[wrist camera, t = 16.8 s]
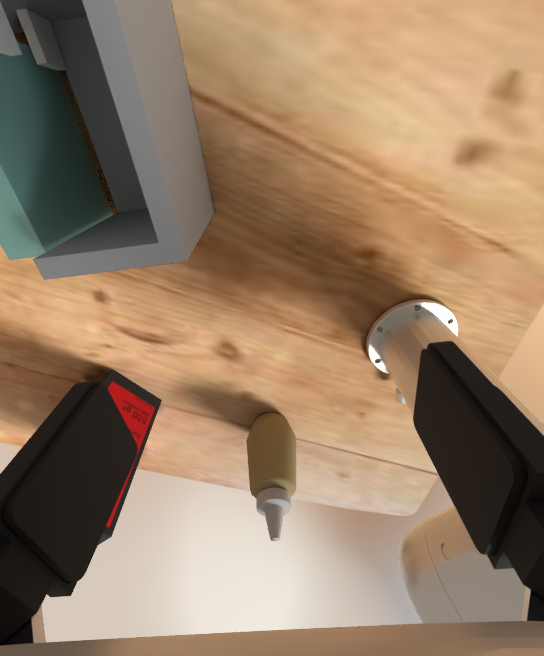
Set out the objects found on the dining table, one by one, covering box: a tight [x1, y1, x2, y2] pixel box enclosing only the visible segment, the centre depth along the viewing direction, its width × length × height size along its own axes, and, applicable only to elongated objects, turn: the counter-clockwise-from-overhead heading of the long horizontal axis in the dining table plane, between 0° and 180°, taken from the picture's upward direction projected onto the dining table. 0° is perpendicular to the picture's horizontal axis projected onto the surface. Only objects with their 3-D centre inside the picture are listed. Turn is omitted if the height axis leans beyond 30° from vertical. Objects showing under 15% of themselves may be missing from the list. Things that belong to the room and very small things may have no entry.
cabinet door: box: [0, 41, 113, 260], centre depth 26 cm, size 14×4×13 cm, turn 7°
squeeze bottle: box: [247, 413, 296, 541], centre depth 46 cm, size 8×8×18 cm
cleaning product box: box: [98, 370, 162, 545], centre depth 43 cm, size 16×9×20 cm, turn 132°
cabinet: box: [0, 0, 215, 280], centre depth 23 cm, size 20×16×16 cm
